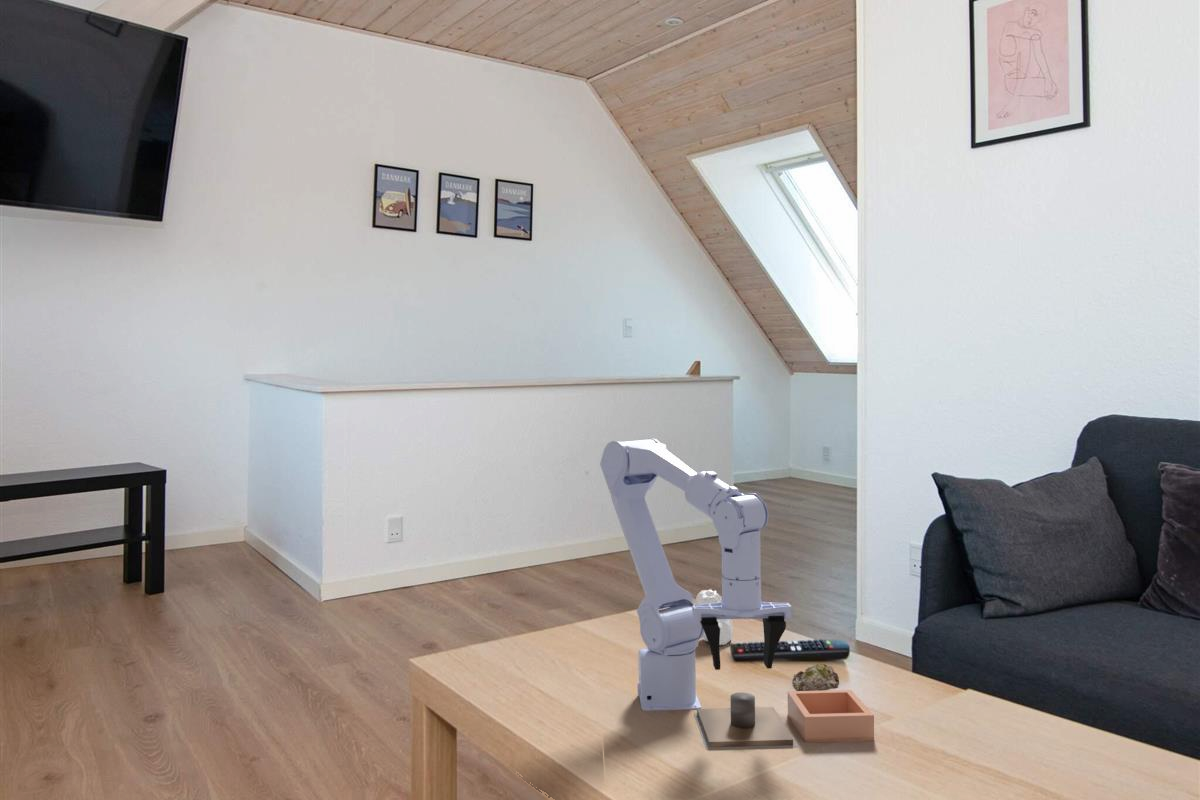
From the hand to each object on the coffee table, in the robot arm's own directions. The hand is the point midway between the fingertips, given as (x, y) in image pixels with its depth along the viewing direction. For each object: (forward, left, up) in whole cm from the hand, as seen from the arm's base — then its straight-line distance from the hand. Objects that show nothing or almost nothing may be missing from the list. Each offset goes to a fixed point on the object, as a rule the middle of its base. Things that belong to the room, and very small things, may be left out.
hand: (742, 666), depth 125 cm
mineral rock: (+16, +18, -10) cm, 26 cm away
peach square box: (+13, 0, -10) cm, 16 cm away
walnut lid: (0, 0, -9) cm, 9 cm away
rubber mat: (0, 0, -10) cm, 10 cm away
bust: (+3, +44, -10) cm, 45 cm away
